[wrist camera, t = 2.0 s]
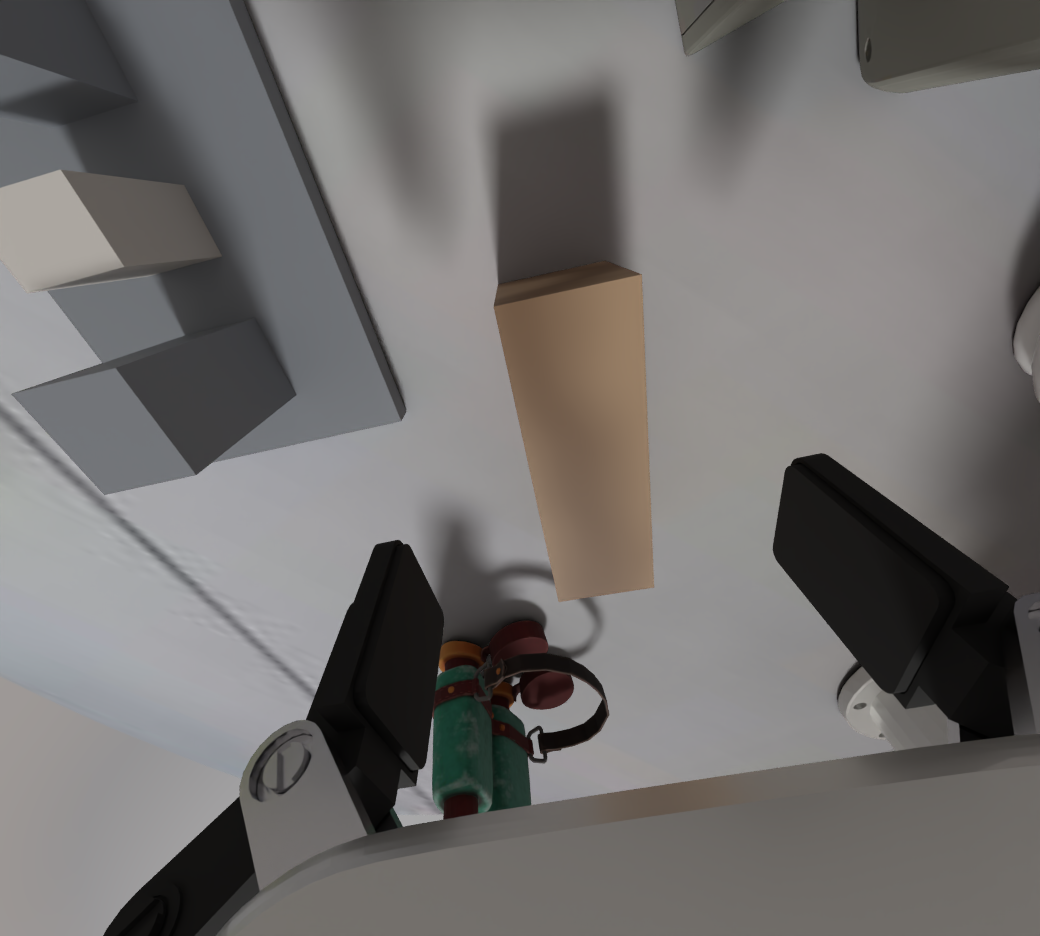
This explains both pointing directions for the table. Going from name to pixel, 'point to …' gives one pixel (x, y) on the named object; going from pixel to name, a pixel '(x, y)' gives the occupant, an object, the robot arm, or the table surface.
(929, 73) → the digital clock
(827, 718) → the table surface
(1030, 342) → the flower vase
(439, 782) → the binoculars
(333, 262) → the display stand
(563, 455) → the tan bar
